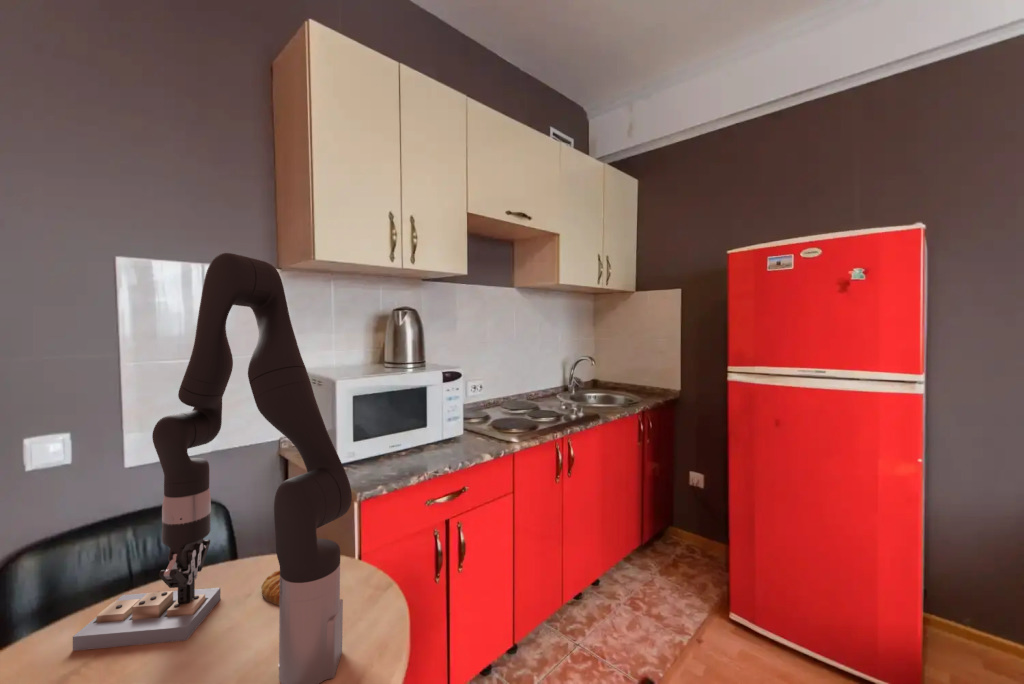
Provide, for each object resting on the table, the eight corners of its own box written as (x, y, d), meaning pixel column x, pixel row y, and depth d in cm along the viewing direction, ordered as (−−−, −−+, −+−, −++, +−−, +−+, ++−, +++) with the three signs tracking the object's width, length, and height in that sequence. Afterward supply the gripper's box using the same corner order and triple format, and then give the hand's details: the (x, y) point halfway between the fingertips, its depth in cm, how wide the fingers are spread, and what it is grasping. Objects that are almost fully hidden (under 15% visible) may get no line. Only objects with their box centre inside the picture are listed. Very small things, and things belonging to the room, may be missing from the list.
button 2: (205, 606, 85) (205, 593, 85) (192, 621, 81) (192, 607, 81) (180, 608, 84) (181, 595, 84) (166, 623, 80) (167, 609, 80)
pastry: (308, 597, 91) (308, 580, 90) (274, 613, 85) (274, 594, 85) (290, 580, 97) (290, 564, 97) (257, 594, 91) (257, 576, 91)
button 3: (173, 603, 84) (173, 589, 84) (158, 617, 80) (158, 603, 80) (148, 605, 83) (148, 591, 83) (132, 620, 79) (132, 605, 79)
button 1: (140, 611, 83) (140, 597, 83) (123, 626, 79) (123, 612, 79) (114, 613, 82) (114, 599, 82) (96, 629, 78) (96, 614, 78)
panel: (220, 599, 89) (220, 587, 89) (186, 640, 77) (186, 626, 77) (123, 606, 86) (123, 594, 86) (72, 650, 74) (72, 636, 74)
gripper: (188, 528, 76) (187, 622, 77) (225, 499, 89) (224, 580, 90) (141, 530, 75) (140, 626, 75) (185, 501, 88) (184, 582, 88)
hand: (186, 601), depth 83 cm, fingers closed
